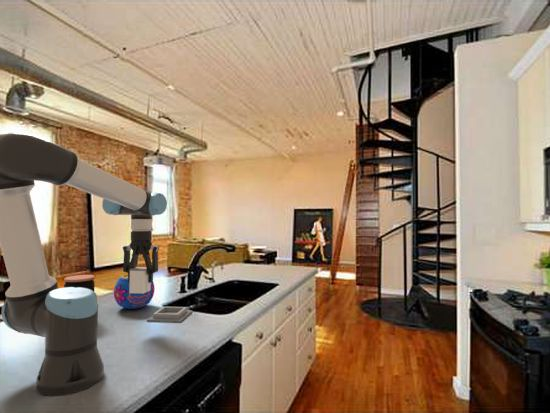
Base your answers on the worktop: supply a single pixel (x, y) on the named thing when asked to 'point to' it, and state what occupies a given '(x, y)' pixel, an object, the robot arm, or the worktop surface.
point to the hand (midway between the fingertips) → (140, 290)
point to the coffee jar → (80, 281)
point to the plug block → (138, 280)
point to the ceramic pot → (131, 295)
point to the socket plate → (170, 314)
